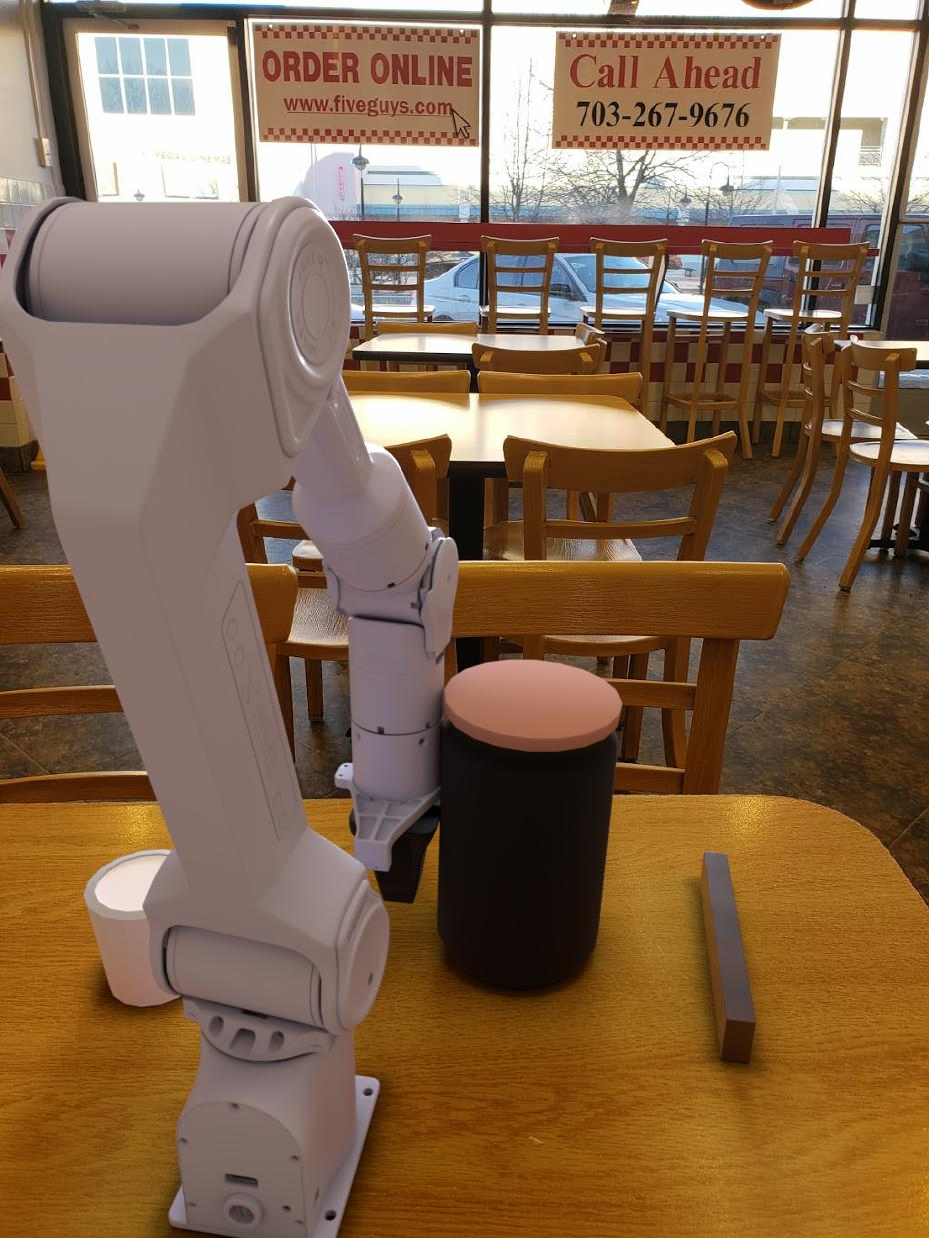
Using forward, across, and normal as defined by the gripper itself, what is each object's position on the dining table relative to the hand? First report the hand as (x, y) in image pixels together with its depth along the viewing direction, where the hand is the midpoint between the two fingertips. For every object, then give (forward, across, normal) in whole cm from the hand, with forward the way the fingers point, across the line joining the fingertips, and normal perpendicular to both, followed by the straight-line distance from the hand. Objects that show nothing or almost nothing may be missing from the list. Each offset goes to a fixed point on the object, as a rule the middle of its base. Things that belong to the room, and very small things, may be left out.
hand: (400, 895), depth 63 cm
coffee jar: (+3, 0, +8) cm, 8 cm away
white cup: (+3, +7, -14) cm, 16 cm away
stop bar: (+2, 0, +21) cm, 21 cm away
